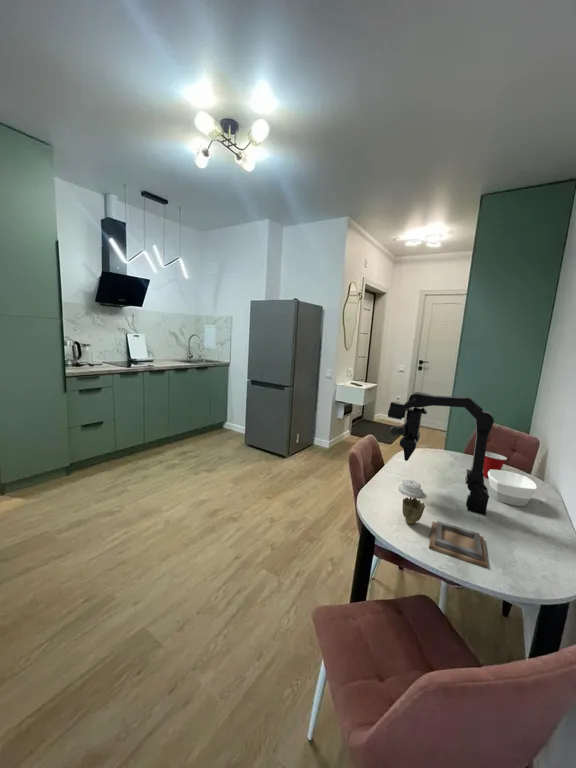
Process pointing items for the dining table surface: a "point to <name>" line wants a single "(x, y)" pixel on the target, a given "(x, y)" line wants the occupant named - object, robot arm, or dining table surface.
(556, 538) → the dining table surface
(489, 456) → the plastic cup
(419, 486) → the mechanical component
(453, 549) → the holder board
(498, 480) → the bowl
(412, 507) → the cup
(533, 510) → the dining table surface
